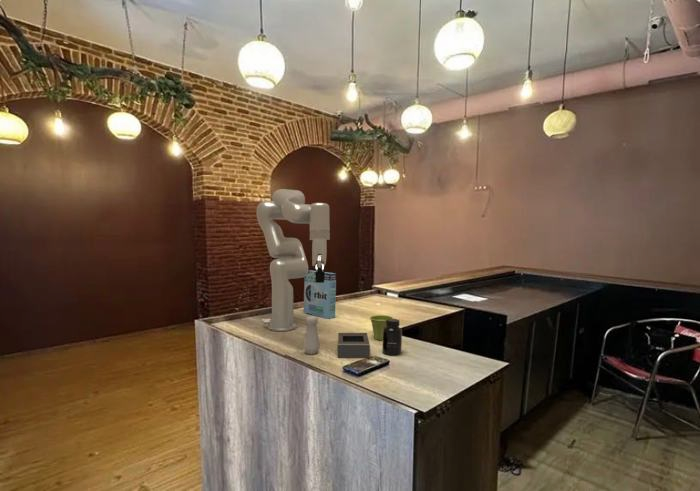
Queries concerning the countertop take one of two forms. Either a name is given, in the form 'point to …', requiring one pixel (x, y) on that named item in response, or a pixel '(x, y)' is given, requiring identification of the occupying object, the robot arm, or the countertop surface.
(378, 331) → the plant pot
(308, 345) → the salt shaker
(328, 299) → the gum box
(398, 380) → the countertop surface
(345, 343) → the grey slotted block
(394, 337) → the supplement bottle
